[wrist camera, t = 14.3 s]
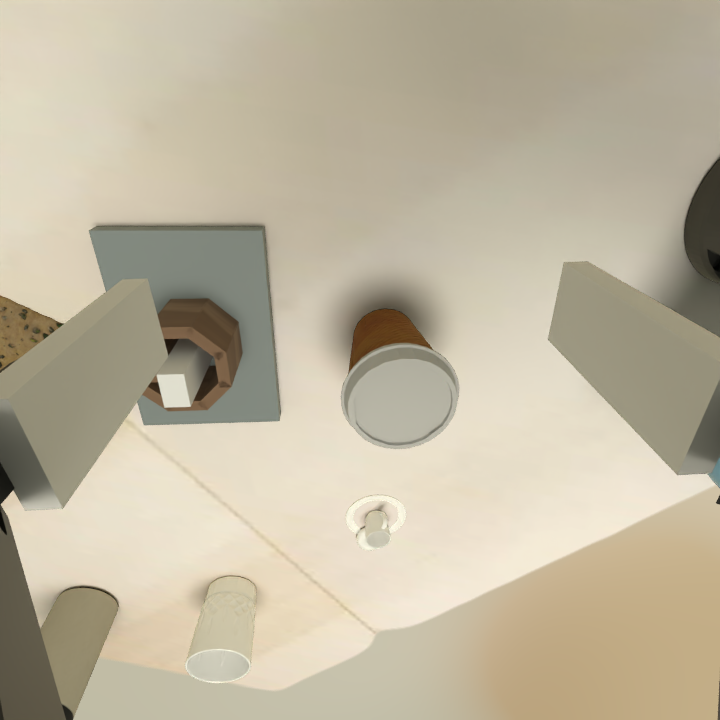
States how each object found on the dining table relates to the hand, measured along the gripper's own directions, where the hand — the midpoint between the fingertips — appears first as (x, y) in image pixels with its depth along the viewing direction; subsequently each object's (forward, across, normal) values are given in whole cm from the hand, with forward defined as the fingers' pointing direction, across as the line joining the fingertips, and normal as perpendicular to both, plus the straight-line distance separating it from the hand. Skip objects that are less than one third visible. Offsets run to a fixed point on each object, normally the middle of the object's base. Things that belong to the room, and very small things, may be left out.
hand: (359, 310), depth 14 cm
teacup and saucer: (+27, +1, +41) cm, 49 cm away
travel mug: (+26, +38, +54) cm, 71 cm away
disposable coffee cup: (+27, -3, +14) cm, 30 cm away
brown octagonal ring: (+25, +14, +12) cm, 31 cm away
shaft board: (+26, +14, +12) cm, 32 cm away
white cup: (+27, +18, +53) cm, 62 cm away
